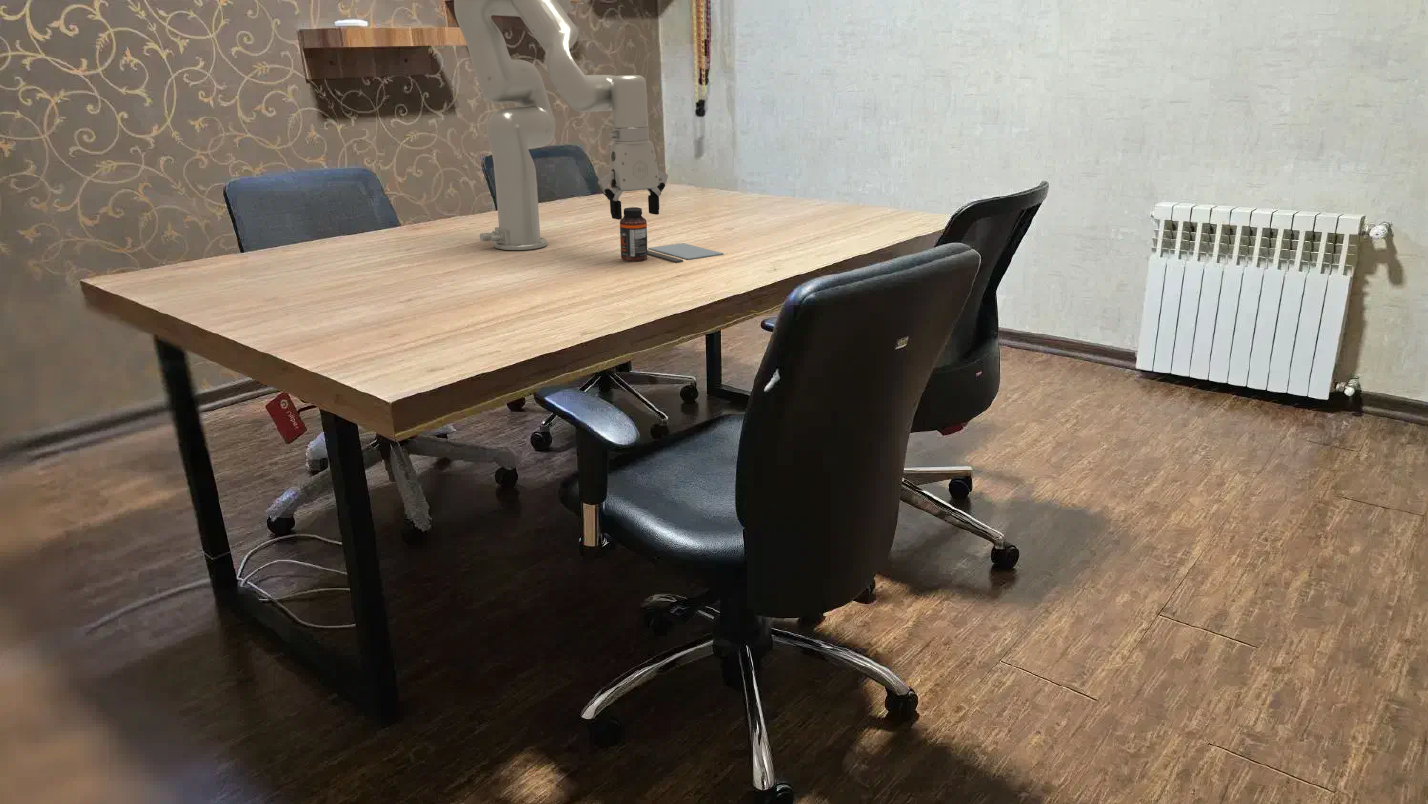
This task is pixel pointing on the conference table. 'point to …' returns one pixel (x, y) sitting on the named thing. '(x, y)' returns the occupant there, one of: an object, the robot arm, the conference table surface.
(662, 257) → the bar
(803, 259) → the conference table surface
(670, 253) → the pad
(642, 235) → the supplement bottle
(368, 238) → the conference table surface
